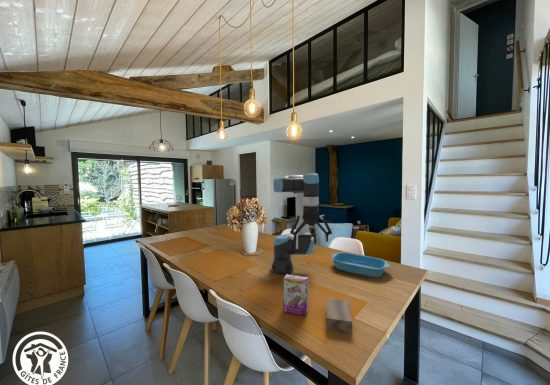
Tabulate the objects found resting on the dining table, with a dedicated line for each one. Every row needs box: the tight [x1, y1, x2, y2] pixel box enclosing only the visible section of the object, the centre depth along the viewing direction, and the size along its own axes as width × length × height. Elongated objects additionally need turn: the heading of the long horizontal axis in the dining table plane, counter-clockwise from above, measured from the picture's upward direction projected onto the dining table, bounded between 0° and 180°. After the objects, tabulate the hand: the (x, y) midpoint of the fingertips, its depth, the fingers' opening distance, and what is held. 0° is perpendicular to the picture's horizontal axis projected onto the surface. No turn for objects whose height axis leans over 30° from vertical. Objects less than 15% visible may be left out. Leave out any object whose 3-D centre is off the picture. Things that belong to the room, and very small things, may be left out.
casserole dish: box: [331, 251, 390, 278], centre depth 156 cm, size 37×22×7 cm, turn 57°
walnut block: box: [325, 297, 353, 335], centre depth 101 cm, size 10×16×5 cm, turn 166°
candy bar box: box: [282, 274, 310, 317], centre depth 107 cm, size 11×5×16 cm, turn 71°
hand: (310, 248), depth 114 cm, fingers open, 13 cm apart
